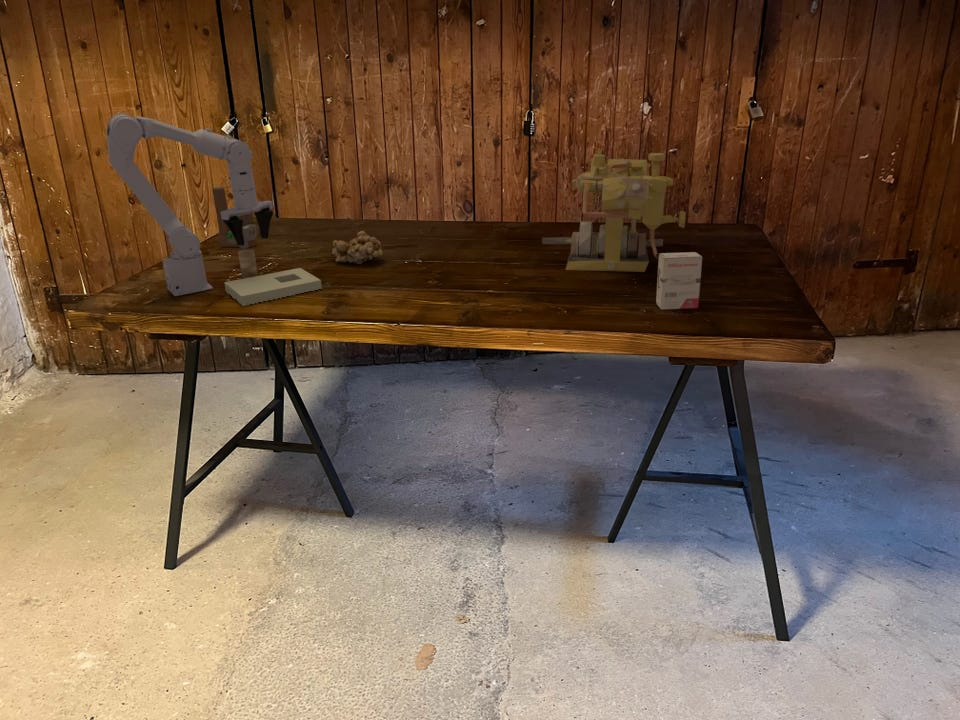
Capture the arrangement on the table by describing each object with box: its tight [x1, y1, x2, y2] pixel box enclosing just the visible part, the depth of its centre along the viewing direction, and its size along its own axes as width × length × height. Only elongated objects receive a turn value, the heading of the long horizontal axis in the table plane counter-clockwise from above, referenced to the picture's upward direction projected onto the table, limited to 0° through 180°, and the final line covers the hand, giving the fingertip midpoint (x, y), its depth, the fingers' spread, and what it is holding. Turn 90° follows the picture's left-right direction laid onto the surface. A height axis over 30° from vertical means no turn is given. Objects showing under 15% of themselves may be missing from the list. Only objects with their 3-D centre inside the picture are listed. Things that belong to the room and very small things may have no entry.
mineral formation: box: [331, 230, 384, 265], centre depth 201 cm, size 8×13×15 cm
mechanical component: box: [226, 224, 258, 251], centre depth 204 cm, size 3×10×10 cm, turn 152°
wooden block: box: [212, 186, 257, 248], centre depth 220 cm, size 4×11×18 cm, turn 83°
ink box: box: [655, 251, 703, 310], centre depth 160 cm, size 9×5×12 cm, turn 92°
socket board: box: [223, 267, 323, 307], centre depth 180 cm, size 20×14×2 cm
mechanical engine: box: [541, 148, 686, 273], centre depth 188 cm, size 39×37×30 cm
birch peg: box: [237, 249, 259, 279], centre depth 187 cm, size 4×4×8 cm
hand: (253, 241), depth 188 cm, fingers open, 7 cm apart
